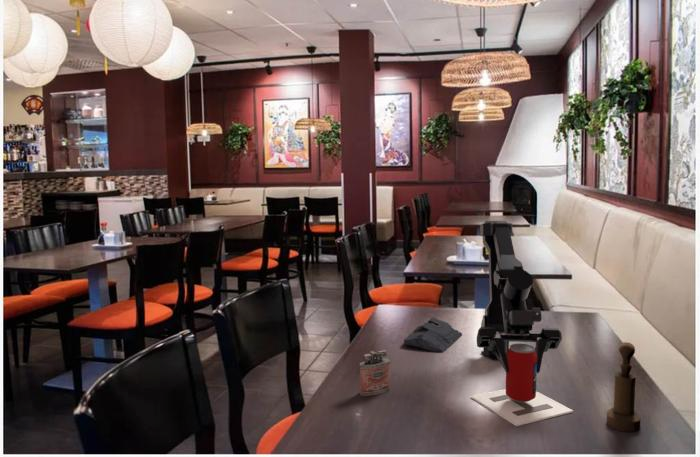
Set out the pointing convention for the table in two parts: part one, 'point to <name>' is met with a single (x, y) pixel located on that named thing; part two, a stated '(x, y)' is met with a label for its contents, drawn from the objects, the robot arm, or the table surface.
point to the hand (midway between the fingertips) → (522, 372)
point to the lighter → (374, 373)
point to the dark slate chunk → (433, 336)
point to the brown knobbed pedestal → (624, 395)
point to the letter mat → (521, 407)
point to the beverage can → (521, 372)
